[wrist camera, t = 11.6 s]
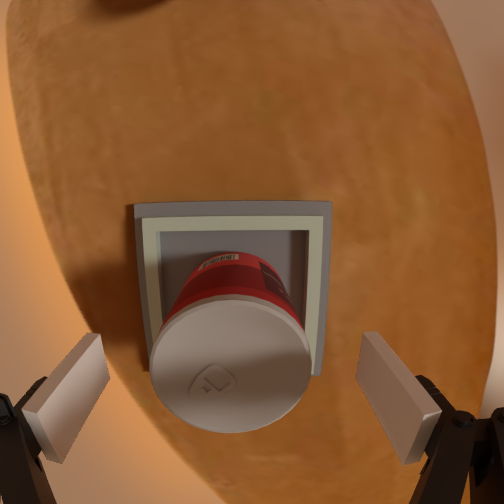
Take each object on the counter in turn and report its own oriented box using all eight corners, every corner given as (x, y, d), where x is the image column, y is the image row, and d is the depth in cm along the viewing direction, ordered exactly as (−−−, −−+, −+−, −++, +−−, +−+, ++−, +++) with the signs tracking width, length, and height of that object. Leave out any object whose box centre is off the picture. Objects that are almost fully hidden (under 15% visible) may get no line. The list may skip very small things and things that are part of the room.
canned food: (166, 312, 25) (124, 391, 14) (218, 228, 24) (201, 263, 13) (247, 358, 26) (251, 453, 15) (303, 282, 25) (346, 349, 14)
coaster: (137, 203, 24) (128, 204, 22) (328, 201, 25) (336, 202, 22) (154, 370, 27) (148, 383, 25) (318, 369, 28) (323, 382, 25)
